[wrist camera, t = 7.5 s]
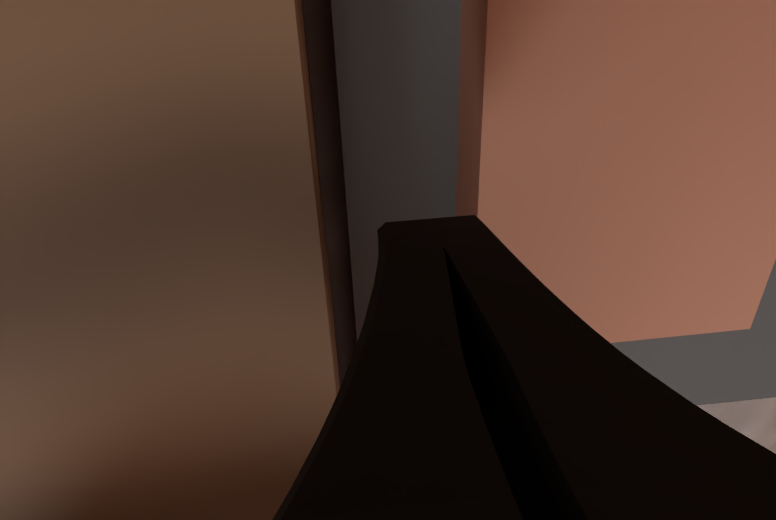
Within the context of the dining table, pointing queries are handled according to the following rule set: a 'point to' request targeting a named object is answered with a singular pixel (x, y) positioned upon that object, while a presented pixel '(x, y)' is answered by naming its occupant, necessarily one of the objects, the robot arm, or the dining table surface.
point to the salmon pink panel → (626, 154)
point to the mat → (438, 180)
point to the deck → (159, 260)
